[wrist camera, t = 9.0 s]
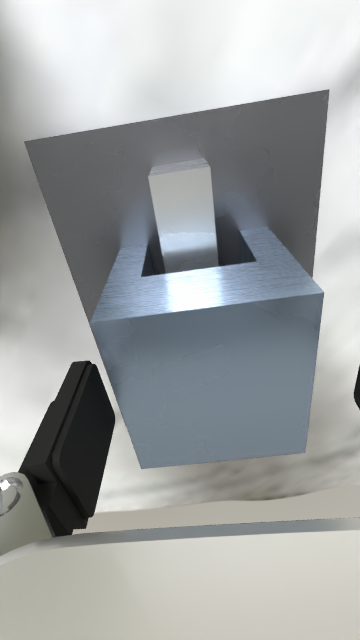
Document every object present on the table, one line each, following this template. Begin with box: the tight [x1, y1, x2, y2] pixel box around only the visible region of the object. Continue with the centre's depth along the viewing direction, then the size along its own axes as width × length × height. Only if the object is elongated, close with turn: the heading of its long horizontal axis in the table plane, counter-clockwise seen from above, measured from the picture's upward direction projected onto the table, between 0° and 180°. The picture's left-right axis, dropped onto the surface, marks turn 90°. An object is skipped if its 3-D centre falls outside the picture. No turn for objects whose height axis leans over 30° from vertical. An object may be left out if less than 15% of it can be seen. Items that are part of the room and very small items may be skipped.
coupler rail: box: [24, 90, 329, 425], centre depth 15 cm, size 11×16×3 cm
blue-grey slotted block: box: [90, 227, 324, 469], centre depth 13 cm, size 6×7×6 cm
